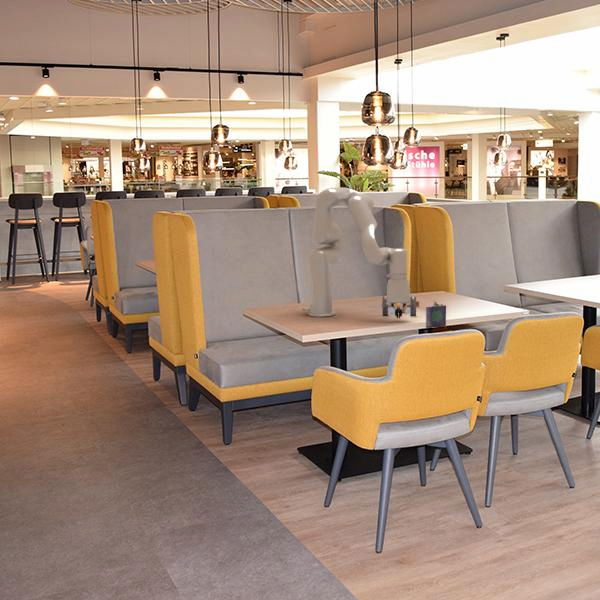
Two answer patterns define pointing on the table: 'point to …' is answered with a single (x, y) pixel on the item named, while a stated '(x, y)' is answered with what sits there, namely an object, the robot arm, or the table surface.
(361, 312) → the table surface
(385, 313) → the post left
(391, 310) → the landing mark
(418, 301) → the stopper wall
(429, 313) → the flask
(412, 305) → the post right
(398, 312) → the ball
